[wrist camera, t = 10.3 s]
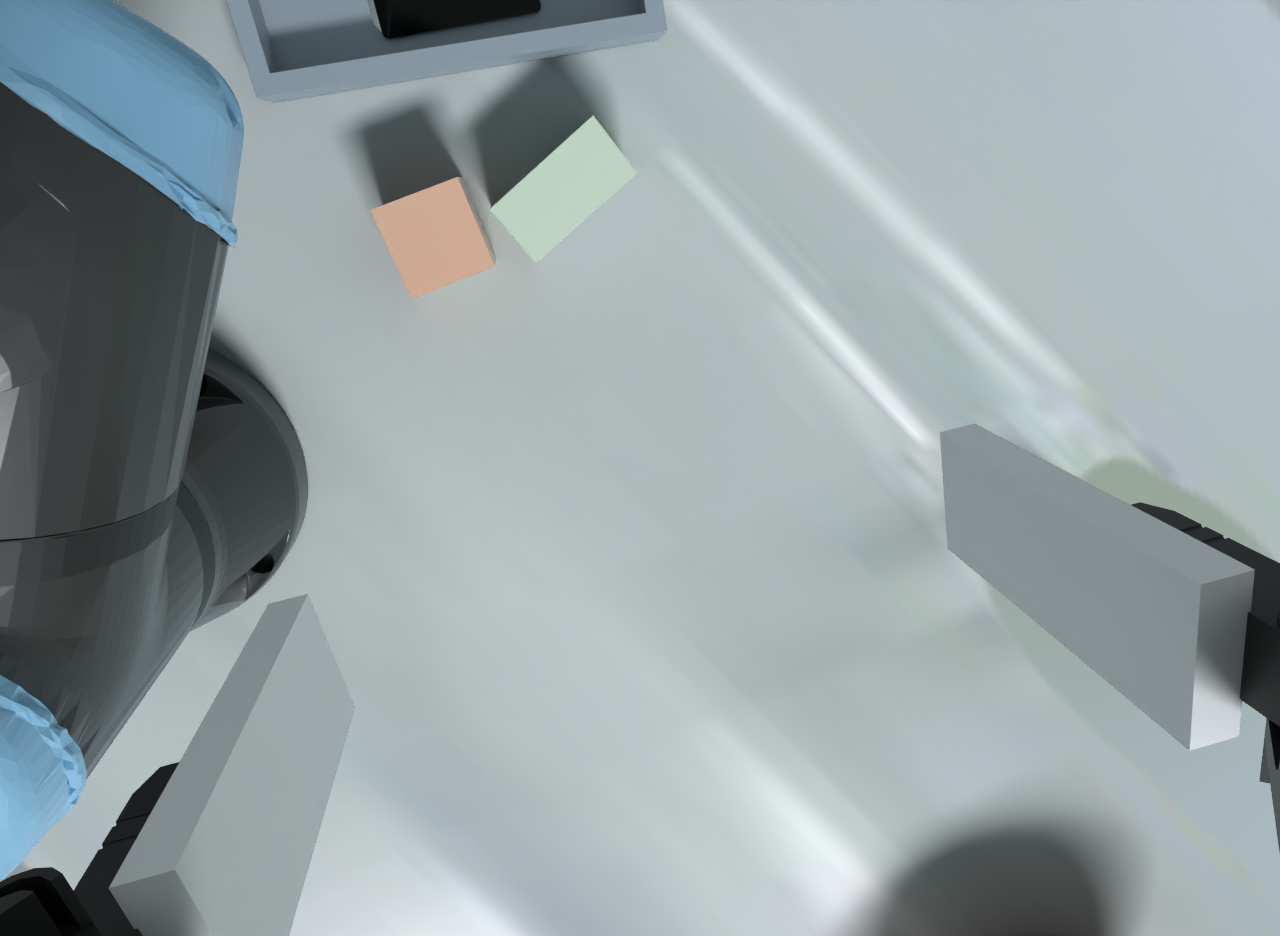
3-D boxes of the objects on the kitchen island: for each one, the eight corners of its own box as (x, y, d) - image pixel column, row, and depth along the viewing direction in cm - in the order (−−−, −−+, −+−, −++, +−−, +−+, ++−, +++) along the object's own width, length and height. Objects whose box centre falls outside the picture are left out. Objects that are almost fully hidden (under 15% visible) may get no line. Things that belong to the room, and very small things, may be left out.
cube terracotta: (420, 287, 39) (410, 298, 35) (383, 207, 38) (369, 209, 34) (495, 258, 39) (494, 266, 35) (462, 177, 38) (457, 176, 34)
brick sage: (533, 255, 39) (535, 263, 36) (491, 206, 38) (489, 209, 35) (624, 173, 39) (637, 172, 35) (584, 121, 38) (593, 115, 34)
